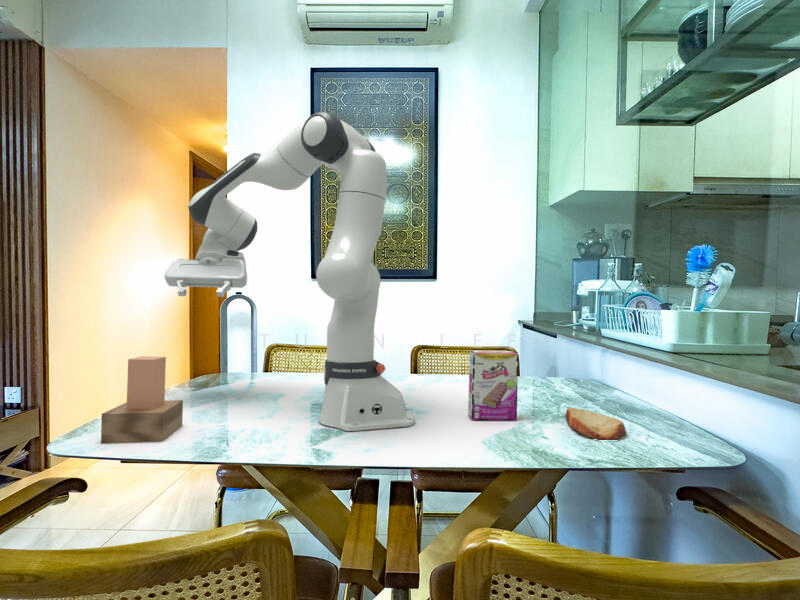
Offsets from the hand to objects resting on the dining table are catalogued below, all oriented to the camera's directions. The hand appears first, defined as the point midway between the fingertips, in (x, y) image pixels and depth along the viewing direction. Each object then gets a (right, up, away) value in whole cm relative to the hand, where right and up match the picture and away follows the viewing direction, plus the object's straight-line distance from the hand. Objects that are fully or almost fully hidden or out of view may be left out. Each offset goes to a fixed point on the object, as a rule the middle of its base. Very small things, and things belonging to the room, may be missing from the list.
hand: (200, 294), depth 110 cm
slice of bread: (+95, -31, -11) cm, 100 cm away
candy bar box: (+74, -30, -5) cm, 80 cm away
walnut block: (-2, -29, -21) cm, 36 cm away
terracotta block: (-1, -23, -21) cm, 32 cm away
